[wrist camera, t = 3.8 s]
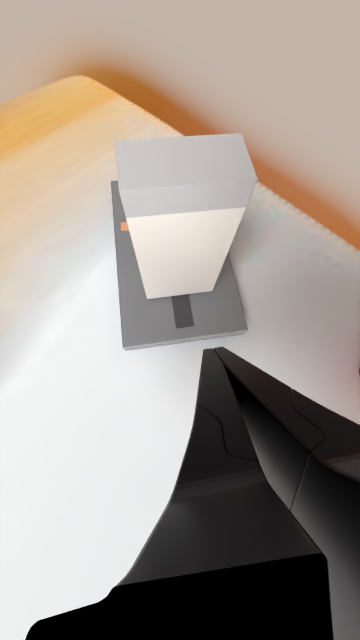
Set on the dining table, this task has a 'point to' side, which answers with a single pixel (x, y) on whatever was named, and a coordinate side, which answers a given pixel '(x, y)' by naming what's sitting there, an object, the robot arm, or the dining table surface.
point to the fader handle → (183, 206)
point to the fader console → (170, 300)
